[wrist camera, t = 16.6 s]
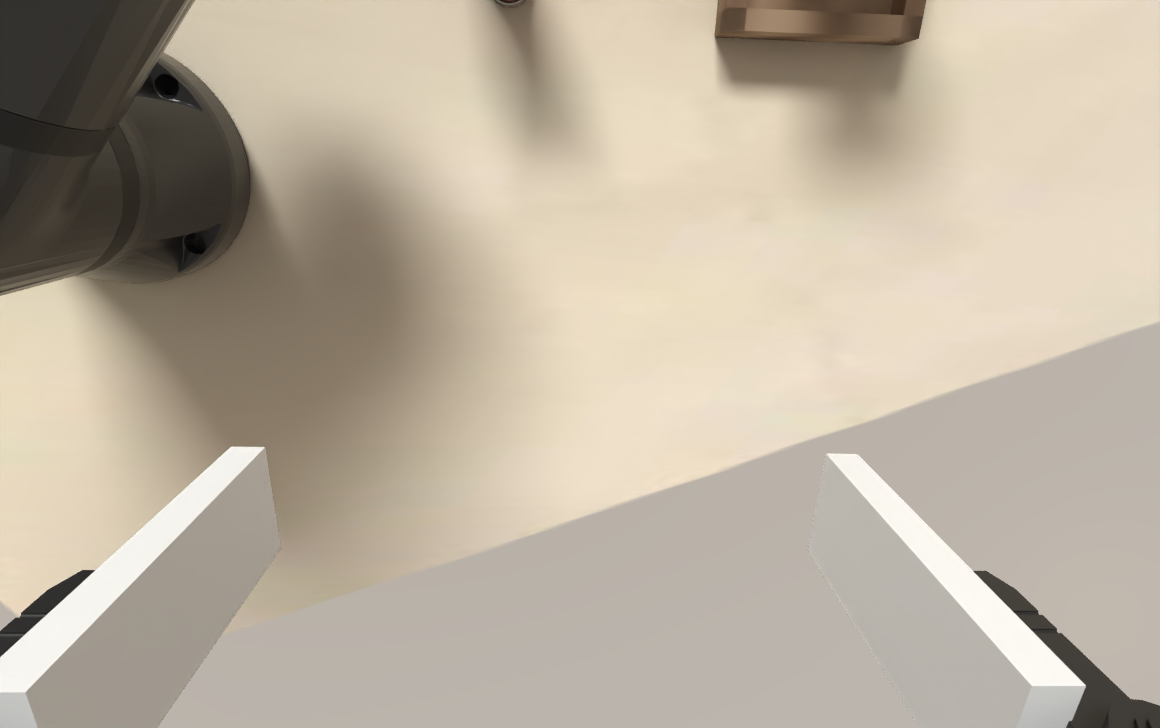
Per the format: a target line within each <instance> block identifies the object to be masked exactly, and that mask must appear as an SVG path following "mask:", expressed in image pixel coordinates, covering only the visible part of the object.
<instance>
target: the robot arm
mask: <svg viewBox="0 0 1160 728" xmlns="http://www.w3.org/2000/svg"><path fill="white" fill-rule="evenodd" d="M194 1H195V0H0V296H1V295H5V294H9V293H13V292H16V291H20V290H24V289H28V288H31V287H35V286H39V285H43V284H46V283H50V282H54V281H58V280H61V279H64V278H68V277H71V276H78V277H85V278H92V279H99V280H106V281H113V282H121V283H133V284H139V283H153V282H160V281H165V280H169V279H173V278H176V277H179V276H182V275H185V274H188V273H191V272H194V271H196V270H198V269H201V268H203V267H205V266H206V265H208V264H210V263H211V262H213V261H214V260H215V259H217V258H218V257H219V256H220V255H221V254H222V253H223V252H225V250H226V249H227V248H228V247H229V246H230V245H231V243H232V242H233V241H234V239H235V238H236V236H237V234H238V232H239V230H240V228H241V226H242V224H243V221H244V219H245V215H246V212H247V207H248V202H249V193H250V178H249V168H248V163H247V158H246V154H245V150H244V147H243V144H242V141H241V138H240V136H239V133H238V131H237V129H236V127H235V125H234V123H233V121H232V119H231V118H230V116H229V114H228V112H227V111H226V109H225V108H224V106H223V105H222V104H221V102H220V101H219V99H218V98H217V97H216V96H215V94H214V93H213V92H212V91H211V90H210V89H209V88H208V86H207V85H206V84H205V83H204V82H203V81H202V80H201V79H200V78H199V77H197V76H196V75H195V74H194V73H193V72H192V71H190V70H189V69H188V68H187V67H185V66H184V65H183V64H181V63H180V62H178V61H177V60H175V59H174V58H172V57H170V56H169V55H167V54H165V53H163V52H164V50H165V48H166V47H167V45H168V43H169V42H170V40H171V39H172V37H173V35H174V34H175V32H176V30H177V29H178V27H179V26H180V24H181V22H182V21H183V19H184V17H185V16H186V14H187V13H188V11H189V9H190V8H191V6H192V4H193V3H194ZM280 549H281V544H280V538H279V531H278V525H277V519H276V512H275V506H274V500H273V493H272V487H271V481H270V474H269V468H268V462H267V455H266V449H265V447H230V448H229V449H228V450H227V451H226V452H225V453H223V454H222V455H221V456H220V457H219V458H218V459H217V460H216V461H215V462H214V463H212V464H211V465H210V466H209V467H208V468H207V469H206V470H205V471H204V472H203V473H202V474H200V475H199V476H198V477H197V478H196V479H195V480H194V481H193V482H192V483H191V484H189V485H188V486H187V487H186V488H185V489H184V490H183V491H182V492H181V493H180V494H179V495H177V496H176V497H175V498H174V499H173V500H172V501H171V502H170V503H169V504H168V505H166V506H165V507H164V508H163V509H162V510H161V511H160V512H159V513H158V514H157V515H156V516H154V517H153V518H152V519H151V520H150V521H149V522H148V523H147V524H146V525H145V526H143V527H142V528H141V529H140V530H139V531H138V532H137V533H136V534H135V535H134V536H133V537H131V538H130V539H129V540H128V541H127V542H126V543H125V544H124V545H123V546H122V547H120V548H119V549H118V550H117V551H116V552H115V553H114V554H113V555H112V556H111V557H110V558H108V559H107V560H106V561H105V562H104V563H103V564H102V565H101V566H100V567H99V568H97V569H96V570H82V571H80V572H78V573H77V574H75V575H73V576H71V577H70V578H68V579H66V580H64V581H63V582H61V583H59V584H57V585H56V586H54V587H52V588H50V589H49V590H47V591H46V592H45V593H44V594H43V595H41V596H40V597H39V598H38V599H37V600H36V601H34V602H33V603H32V604H31V605H30V606H29V607H27V608H26V609H25V610H24V611H23V612H22V613H21V616H20V618H15V619H14V620H13V621H11V622H10V623H9V624H8V625H7V626H6V627H4V628H3V629H2V630H1V631H0V728H157V727H158V726H159V724H160V723H161V721H162V720H163V718H164V717H165V715H166V714H167V713H168V711H169V710H170V708H171V707H172V705H173V704H174V702H175V701H176V700H177V698H178V697H179V695H180V694H181V692H182V690H183V689H184V688H185V687H186V685H187V684H188V682H189V681H190V679H191V678H192V676H193V675H194V673H195V672H196V671H197V669H198V668H199V666H200V665H201V663H202V662H203V660H204V659H205V658H206V656H207V654H208V653H209V652H210V650H211V649H212V647H213V646H214V644H215V643H216V642H217V640H218V639H219V637H220V636H221V634H222V633H223V631H224V630H225V629H226V627H227V626H228V624H229V623H230V621H231V620H232V618H233V617H234V616H235V614H236V613H237V611H238V610H239V608H240V607H241V605H242V604H243V603H244V601H245V600H246V598H247V597H248V595H249V594H250V592H251V591H252V590H253V588H254V587H255V585H256V584H257V582H258V581H259V579H260V578H261V576H262V575H263V574H264V572H265V571H266V569H267V568H268V566H269V565H270V563H271V562H272V561H273V559H274V558H275V556H276V555H277V553H278V552H279V550H280ZM808 552H809V553H810V555H811V556H812V558H813V560H814V561H815V562H816V564H817V566H818V568H819V569H820V571H821V572H822V574H823V576H824V577H825V579H826V580H827V582H828V583H829V585H830V587H831V588H832V590H833V592H834V593H835V595H836V596H837V598H838V599H839V601H840V603H841V604H842V606H843V607H844V609H845V611H846V612H847V614H848V615H849V617H850V619H851V620H852V622H853V623H854V625H855V626H856V628H857V630H858V631H859V633H860V635H861V636H862V638H863V639H864V641H865V643H866V644H867V646H868V647H869V649H870V651H871V652H872V654H873V655H874V657H875V658H876V660H877V662H878V663H879V665H880V667H881V668H882V670H883V671H884V673H885V674H886V676H887V678H888V679H889V681H890V682H891V684H892V686H893V687H894V689H895V690H896V692H897V693H898V695H899V697H900V698H901V700H902V702H903V703H904V705H905V706H906V708H907V710H908V711H909V713H910V714H911V715H912V718H913V719H914V721H915V722H916V724H917V725H918V727H919V728H1160V706H1159V705H1156V704H1152V703H1149V702H1146V701H1143V700H1133V699H1130V698H1129V697H1127V695H1125V693H1123V692H1122V691H1121V690H1120V689H1119V688H1118V687H1117V686H1116V685H1115V684H1114V683H1113V682H1112V681H1111V680H1110V679H1109V678H1108V677H1107V676H1106V675H1105V674H1104V673H1103V672H1102V671H1100V670H1099V669H1098V668H1097V667H1096V666H1095V665H1094V664H1093V663H1092V662H1091V661H1090V660H1089V659H1088V658H1087V657H1086V656H1085V655H1083V653H1082V652H1081V651H1080V650H1079V649H1077V648H1076V647H1075V646H1074V645H1073V644H1072V643H1071V642H1070V641H1069V640H1068V639H1067V638H1066V637H1065V636H1064V635H1063V634H1061V633H1058V632H1057V629H1056V627H1055V626H1053V625H1052V624H1051V623H1050V622H1049V621H1048V620H1047V619H1046V618H1045V617H1044V616H1043V615H1039V614H1038V610H1037V609H1036V608H1035V607H1034V606H1033V605H1031V604H1030V603H1029V602H1028V601H1027V600H1026V599H1025V598H1024V597H1023V596H1022V595H1021V594H1020V593H1019V592H1018V591H1017V590H1016V589H1014V588H1013V587H1011V586H1009V585H1008V584H1006V583H1005V582H1003V581H1001V580H1000V579H998V578H996V577H995V576H993V575H992V574H990V573H989V572H987V571H972V570H971V569H970V568H969V567H968V566H967V565H966V564H965V563H964V562H963V561H962V560H961V559H960V558H959V557H958V556H957V555H956V554H955V553H954V552H953V551H952V550H951V549H950V548H949V546H948V545H947V544H945V543H944V542H943V541H942V539H941V538H940V537H939V536H938V535H936V533H935V532H934V531H933V530H932V529H931V528H930V527H929V526H928V525H927V524H926V523H925V522H924V521H923V520H922V519H921V518H920V517H919V516H918V515H917V514H916V513H915V512H914V511H913V510H912V509H911V508H909V506H908V505H907V504H906V503H905V502H904V501H903V500H902V499H901V498H900V497H899V496H898V495H897V494H896V493H895V492H894V491H893V490H892V489H891V488H890V487H889V486H888V485H887V484H886V483H885V482H884V481H883V480H882V479H881V478H880V477H879V476H878V475H877V474H876V473H875V472H874V471H873V470H872V469H871V468H870V467H869V466H868V465H867V464H866V462H864V460H863V459H862V458H861V457H860V456H859V455H857V454H826V456H825V462H824V467H823V473H822V478H821V483H820V488H819V494H818V499H817V504H816V509H815V515H814V520H813V525H812V531H811V536H810V541H809V546H808Z"/></svg>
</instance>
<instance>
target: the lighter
mask: <svg viewBox="0 0 1160 728" xmlns="http://www.w3.org/2000/svg"><path fill="white" fill-rule="evenodd" d="M495 1H496V2H497V3H498V4H500V5H502V6H503V7H509V8H512V7H518V6H519V5H521V4H523V3H524V2H525V1H526V0H495Z"/></svg>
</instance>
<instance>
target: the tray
mask: <svg viewBox="0 0 1160 728" xmlns="http://www.w3.org/2000/svg"><path fill="white" fill-rule="evenodd" d="M925 3H926V0H718V8H717V18H716V29H715V37H725V38H748V39H770V40H793V41H816V42H839V43H861V44H884V45H899V44H902V43H905V42H909V41H912V40H915V39H918V38H919V34H920V29H921V24H922V19H923V14H924V9H925Z"/></svg>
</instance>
